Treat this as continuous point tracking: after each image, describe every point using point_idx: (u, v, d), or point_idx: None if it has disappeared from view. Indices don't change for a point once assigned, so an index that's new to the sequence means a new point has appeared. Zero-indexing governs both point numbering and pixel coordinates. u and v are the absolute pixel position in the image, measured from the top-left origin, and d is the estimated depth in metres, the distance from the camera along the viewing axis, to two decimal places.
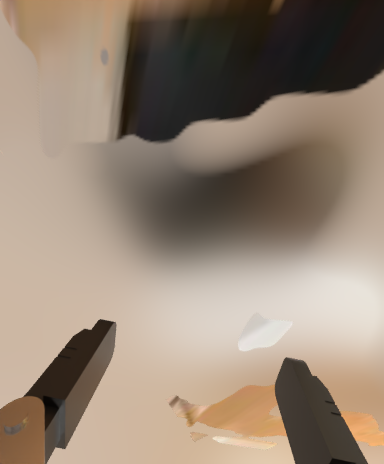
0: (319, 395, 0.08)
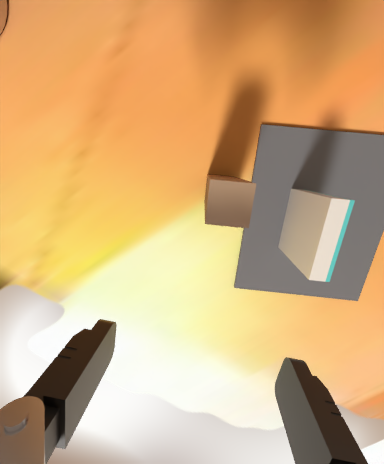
0: (319, 395, 0.08)
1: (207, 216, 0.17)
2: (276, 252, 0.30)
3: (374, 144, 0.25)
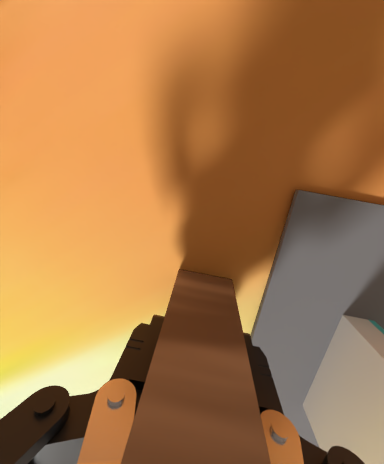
0: (253, 359, 0.09)
1: None
2: (298, 412, 0.16)
3: None
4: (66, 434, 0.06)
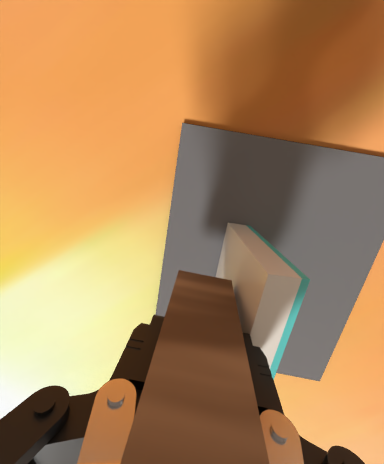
0: (253, 359, 0.09)
1: None
2: None
3: (352, 167, 0.16)
4: (66, 434, 0.06)
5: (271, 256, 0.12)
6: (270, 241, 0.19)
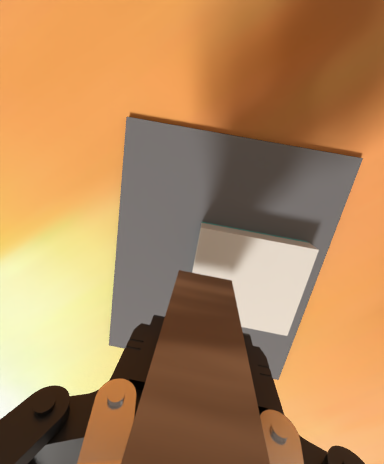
0: (253, 359, 0.09)
1: None
2: (162, 304, 0.21)
3: (297, 162, 0.16)
4: (66, 434, 0.06)
5: (283, 239, 0.17)
6: None
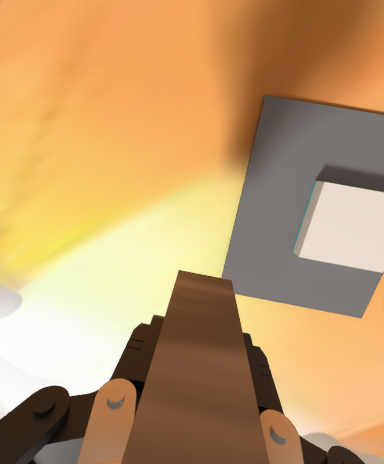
0: (253, 359, 0.09)
1: None
2: (271, 253, 0.25)
3: None
4: (66, 434, 0.06)
5: None
6: None
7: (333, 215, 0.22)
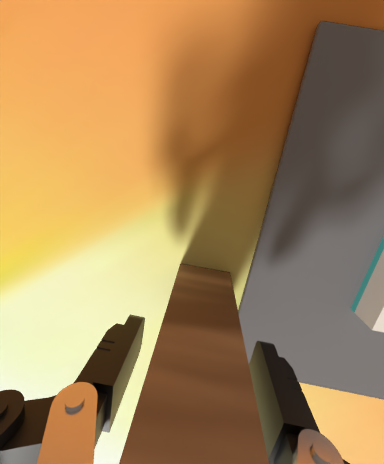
0: (282, 372, 0.09)
1: None
2: (314, 312, 0.15)
3: None
4: (23, 434, 0.06)
5: None
6: None
7: None
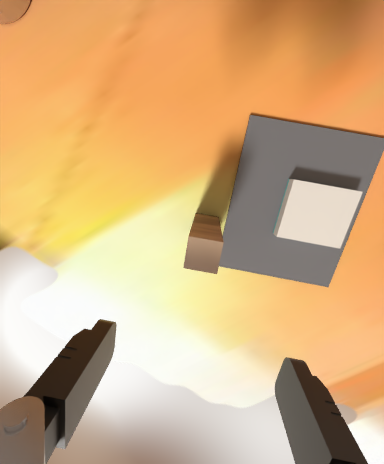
0: (319, 395, 0.08)
1: (185, 262, 0.22)
2: (256, 234, 0.33)
3: (349, 141, 0.28)
4: None
5: None
6: None
7: (301, 204, 0.29)
